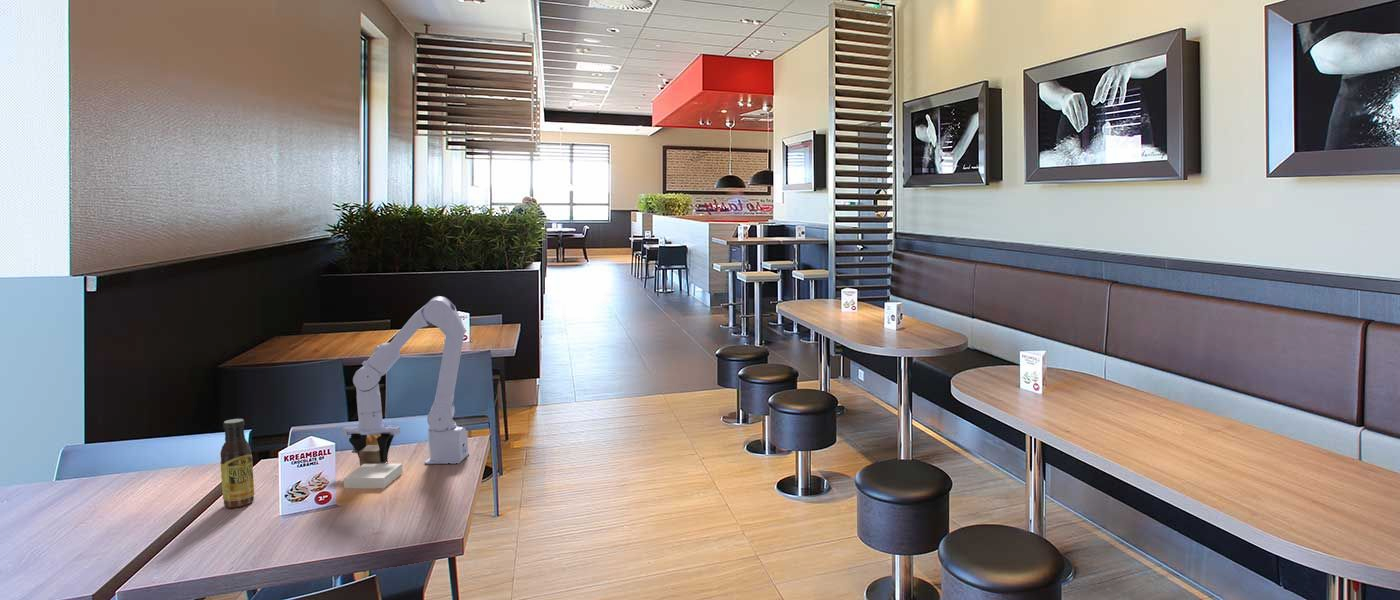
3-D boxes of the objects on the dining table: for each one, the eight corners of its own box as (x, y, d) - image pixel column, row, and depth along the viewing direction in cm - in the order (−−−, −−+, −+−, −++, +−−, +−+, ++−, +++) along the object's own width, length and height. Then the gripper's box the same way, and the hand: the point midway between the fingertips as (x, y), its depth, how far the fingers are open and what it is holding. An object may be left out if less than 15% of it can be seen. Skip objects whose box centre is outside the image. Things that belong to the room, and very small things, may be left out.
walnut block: (387, 462, 193) (386, 444, 192) (379, 469, 188) (377, 451, 187) (369, 462, 193) (368, 444, 193) (360, 469, 188) (358, 451, 188)
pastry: (358, 453, 201) (356, 440, 201) (350, 448, 207) (349, 435, 206) (392, 445, 208) (391, 433, 207) (384, 440, 213) (383, 428, 212)
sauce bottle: (232, 511, 163) (222, 426, 161) (218, 505, 167) (209, 423, 164) (262, 501, 169) (253, 419, 166) (248, 496, 172) (239, 415, 170)
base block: (402, 474, 185) (402, 463, 185) (384, 489, 175) (383, 478, 175) (365, 474, 186) (364, 463, 185) (344, 489, 176) (343, 478, 175)
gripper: (334, 415, 185) (339, 466, 187) (389, 415, 184) (393, 466, 186) (348, 408, 192) (353, 457, 194) (402, 407, 191) (405, 456, 193)
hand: (373, 461), depth 190 cm, fingers closed on walnut block, 5 cm apart
